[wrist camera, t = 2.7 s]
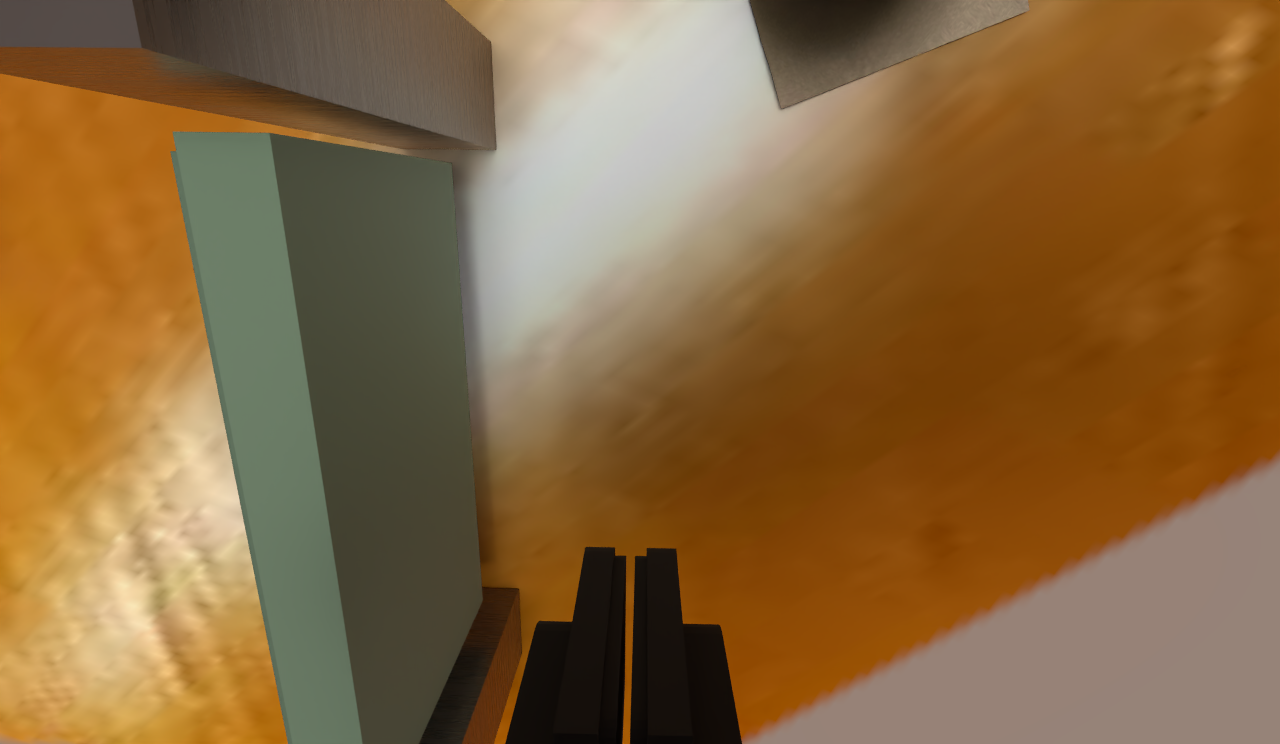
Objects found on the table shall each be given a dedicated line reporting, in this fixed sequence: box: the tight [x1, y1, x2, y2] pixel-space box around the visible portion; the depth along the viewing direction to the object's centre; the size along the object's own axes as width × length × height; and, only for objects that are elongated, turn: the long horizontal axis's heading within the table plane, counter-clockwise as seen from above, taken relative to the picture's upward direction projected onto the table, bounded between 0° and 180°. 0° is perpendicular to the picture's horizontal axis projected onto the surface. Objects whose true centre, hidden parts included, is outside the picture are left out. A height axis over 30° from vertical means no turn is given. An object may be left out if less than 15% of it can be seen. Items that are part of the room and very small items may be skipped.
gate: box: [170, 132, 483, 744], centre depth 15 cm, size 14×2×8 cm, turn 179°
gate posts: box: [0, 0, 522, 744], centre depth 14 cm, size 3×22×13 cm, turn 179°
